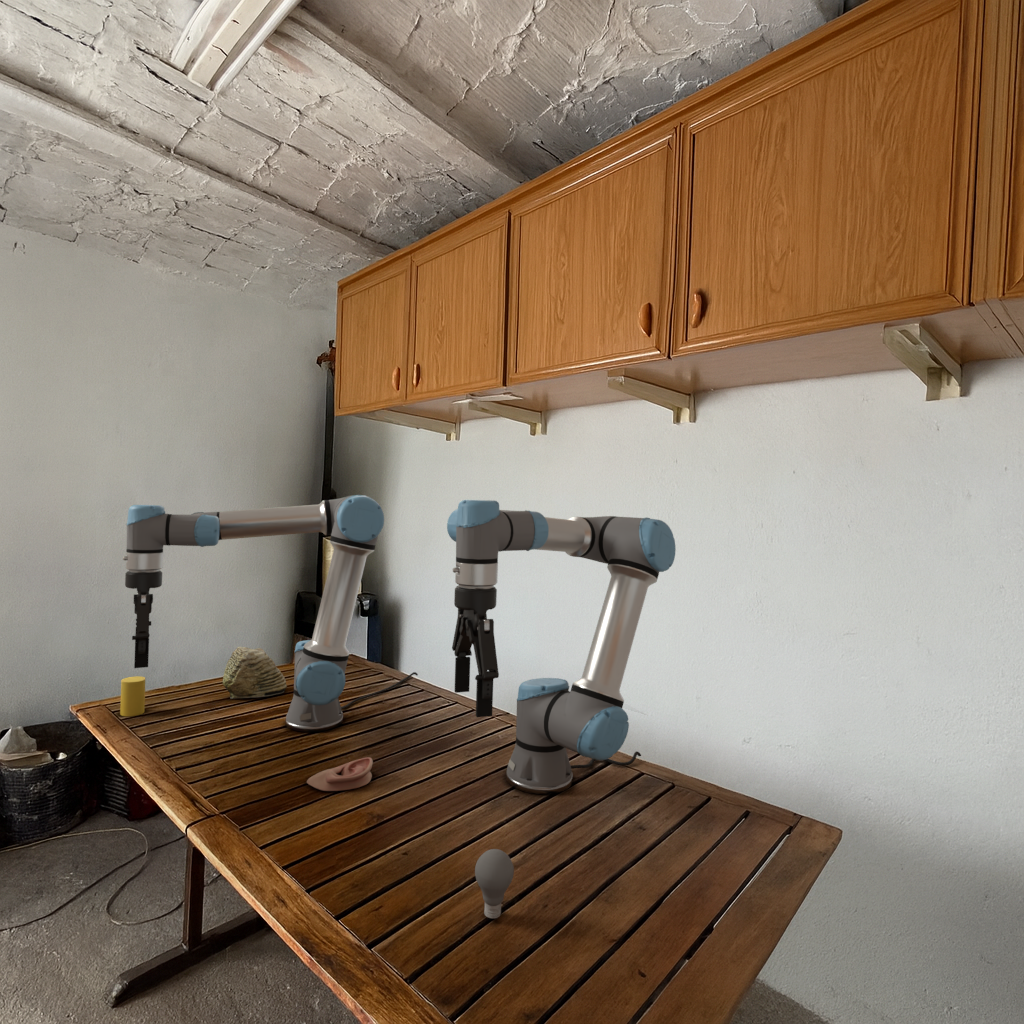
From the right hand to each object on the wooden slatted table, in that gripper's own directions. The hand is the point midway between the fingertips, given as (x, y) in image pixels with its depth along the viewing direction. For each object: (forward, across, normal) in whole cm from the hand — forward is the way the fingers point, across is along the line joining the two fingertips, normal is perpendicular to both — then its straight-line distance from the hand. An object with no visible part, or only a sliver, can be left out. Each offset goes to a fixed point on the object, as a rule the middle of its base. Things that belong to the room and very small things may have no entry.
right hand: (472, 703), depth 114 cm
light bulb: (+27, +18, -1) cm, 33 cm away
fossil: (+28, -104, -39) cm, 114 cm away
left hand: (+4, -61, -63) cm, 88 cm away
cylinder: (+27, -94, -70) cm, 120 cm away
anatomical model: (+28, -36, -19) cm, 49 cm away
